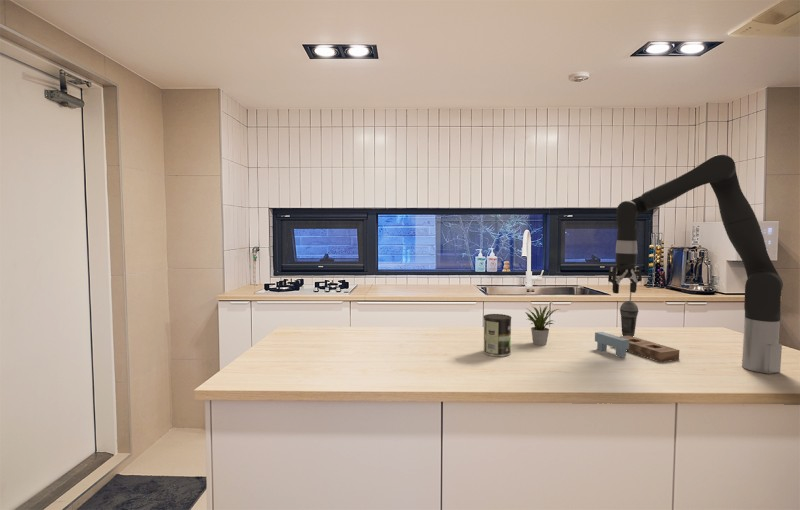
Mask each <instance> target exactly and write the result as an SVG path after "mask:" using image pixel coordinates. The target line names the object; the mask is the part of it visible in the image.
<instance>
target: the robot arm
mask: <svg viewBox="0 0 800 510" xmlns="http://www.w3.org/2000/svg"><path fill="white" fill-rule="evenodd" d="M707 184H709V185H710V186H711V189H712V191H713V192H714V195H715V197H716V199H717V204H718V209H719V214H720V218H721V221H722V222H721V223H722V225H723V228H724V230H725V234H726V235H727V237H728V239H729V241H730V243H731V246H733V248H734V250H735V251H736V253H737V254H738V256H739V257H740V258H741V259H740V260H741V261H742V264H743V266H744V269H745V274H746V277H747V278H746V281H745V285H744V303H743V304H744V305H743V307H744V321H743V322H744V324H743V339H742V342H743V343H742V357H741V361H742V362H741V367H742V368H744V369H745V370H749V371H752V372H756V373H763V374H768V375H770V374H777V373H780V372H781V366H782V365H781V364H782V347H783V344H782V343H779V342H780V326H781V316H782V315H781V314H782V313H781V303H782V302H781V301H782V290H783V287H784V284H783V280H782V278H781V276H780V275H779V273H778V271H777V269H776V268H775V266H774V264H773V261H772V260H771V258H770V256H769V254H768V250H767V245H766V241H765V238H764V234H763V232H762V229H761V226H760V223H759V220H758V218H757V216H756V214H755V211H754V210H753V207H752V206H751V204H750V203H749V201H748V199H747V198H746V196H745V195H744V193H743V190H742V188H741V185H740V182H739V178H738V174H737V167H736V163H735V160H734V159H733V158H732V157H731V156H730V155H727V154H715V155H712V156H711V157H710V158H708V159H706V160H704V162H701V163H700V164H699V165H698V166H696V167H694V168H692V169H691V170H689V171H687V172H685V173H683V174H682V175H679V176H678V177H675V178H673V179H671V180H669V181H667V182H664V183H662V184H660V185H657V186H656V187H653V188H652V189H649V190H647V191H645V192H643V193H642V194H641V195H640V196H638V197H635V198H633V199H631V200H624V201H621V202H620V203H619V204H618V205H617V207H616V225H617V231H616V232H617V233H616V244H615V257H614V258H615V260H614V262H615V264H616V267H614V266H610V267H608V278H607V280H608V283H612V292H613V294H619V292H620V284H619V283H620V282H621V281H622V280H623V279H626V278H627V279H629V282H630V283H629V292H631V294H632V293H633V294H634V293H637V292H636V291H637V285H638V283H639V282H642V279H643V278H642V276H643V275H642V270H643V269H642V266H639V265H637V260H638V228H637V225H636V224H637V217H639V216H641V215H643V214H645V213H647V212H648V211H650V210H654V209H656V208H659V207H661V206H663V205H665V204H667V203H669V202H672V201H673V200H676V199H677V198H679V197H681V196H683V195H684V194H686V193H688V192H690V191H692V190H693V189H696V188H698V187H701V186H704V185H707Z"/></svg>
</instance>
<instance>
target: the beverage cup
mask: <svg viewBox="0 0 800 510" xmlns="http://www.w3.org/2000/svg"><path fill="white" fill-rule="evenodd" d="M629 292H630V291H629ZM619 313H620V322H621V324H620V325H621V336H622V335H623V336H632V337H633V336H634V337H635V333H636V325H637V319H638V314H639V308H638V305H637V303H635V302H634V301H632V292H630V293H629V300H626V301H624V302H623V303H622V304H621V305H620V308H619Z"/></svg>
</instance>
